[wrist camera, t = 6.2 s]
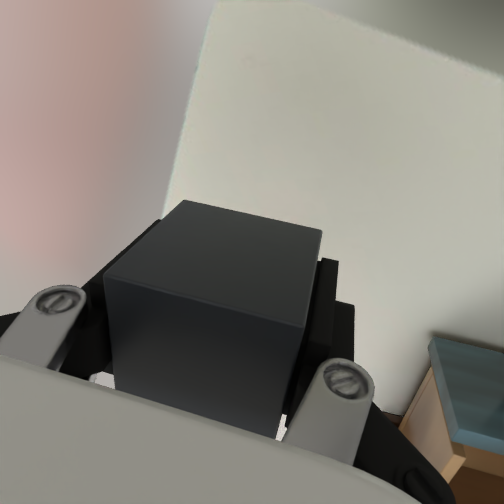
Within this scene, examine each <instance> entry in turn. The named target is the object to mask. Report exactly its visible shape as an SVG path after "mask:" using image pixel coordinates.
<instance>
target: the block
mask: <svg viewBox="0 0 504 504" xmlns="http://www.w3.org/2000/svg"><path fill="white" fill-rule="evenodd" d="M321 238H322V230H319V229H315V228H310V227H306V226H301V225H297V224H292V223H288V222H283V221H279V220H274V219H270V218H265V217H260V216H256V215H251V214H247V213H242V212H238V211H233V210H229V209H224V208H220V207H215V206H211V205H206V204H202V203H197V202H193V201H188V200H183V201H182V202H181V203H179V204H178V205H177V206H176V207H175V208H174V209H173V210H172V211H171V212H170V213H169V214H168V215H166V216H165V217H164V218H163V219H162V220H161V221H160V222H159V223H158V224H157V225H156V226H155V227H153V228H152V229H151V230H150V231H149V232H148V233H147V234H146V235H145V236H144V237H143V238H142V239H141V240H139V241H138V242H137V243H136V244H135V245H134V246H133V247H132V248H131V249H130V250H129V251H128V252H126V253H125V254H124V255H123V256H122V257H121V258H120V259H119V260H118V261H117V262H116V263H115V264H113V265H112V266H111V267H110V268H109V269H108V270H107V271H106V272H105V273H104V275H103V281H104V290H105V299H106V309H107V318H108V327H109V336H110V345H111V355H112V364H113V373H114V382H115V390H119V391H122V392H125V393H128V394H132V395H135V396H138V397H141V398H144V399H148V400H151V401H154V402H157V403H161V404H164V405H167V406H170V407H173V408H177V409H180V410H183V411H186V412H189V413H193V414H196V415H199V416H202V417H205V418H208V419H212V420H215V421H218V422H221V423H224V424H227V425H231V426H234V427H237V428H240V429H243V430H246V431H250V432H253V433H256V434H259V435H262V436H265V437H269V438H272V439H275V438H276V435H277V431H278V427H279V423H280V420H281V416H282V412H283V408H284V405H285V401H286V397H287V393H288V390H289V386H290V382H291V378H292V375H293V371H294V367H295V363H296V360H297V356H298V352H299V348H300V345H301V341H302V337H303V333H304V330H305V325H306V320H307V314H308V309H309V303H310V298H311V292H312V287H313V282H314V276H315V271H316V265H317V260H318V254H319V249H320V243H321Z"/></svg>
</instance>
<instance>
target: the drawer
mask: <svg viewBox="0 0 504 504" xmlns="http://www.w3.org/2000/svg"><path fill="white" fill-rule="evenodd" d="M428 351H429V355H430V359H431V363H432V365H431V367H430V369H429V371H428V372H427V374H426V376H425V378H424V380H423V382H422V384H421V386H420V388H419V390H418V391H417V393H416V395H415V397H414V399H413V401H412V403H411V405H410V407H409V408H408V410H407V412H406V414H405V416H404V418H403V420H402V422H401V424H400V426H399V427H398V429H399V430H400V431H401V432H402V433H403V435H404V436H405V437H406V438H407V439H408V440H409V441H410V442H411V443H412V444H413V445H414V446H415V447H416V448H417V449H418V451H419V452H420V453H421V454H422V455H423V456H424V457H425V458H426V459H427V460H428V461H429V462H430V463H431V464H432V465H433V467H434V468H435V469H436V470H437V471H438V472H439V473H440V474H441V475H442V476H443V478H444V479H445V480H446V482H447V483H448V484H449V486H450V488H451V490H452V492H453V494H454V496H455V500H456V504H504V353H500V352H496V351H492V350H488V349H484V348H480V347H476V346H472V345H468V344H464V343H460V342H455V341H451V340H447V339H443V338H439V337H435V336H433V338H432V340H431V342H430V344H429V346H428Z"/></svg>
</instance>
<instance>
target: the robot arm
mask: <svg viewBox="0 0 504 504" xmlns="http://www.w3.org/2000/svg"><path fill="white" fill-rule="evenodd" d="M160 221H161V220H160V219H158V220H156V221H155V222H154V223H153V224H152V225H151V226H150V227H148V228H147V229H146V230H145V231H144V232H143V233H142V234H141V235H140V236H138V237H137V238H136V239H135V240H134V241H133V242H132V243H131V244H130V245H129V246H127V247H126V248H125V249H124V250H123V251H121V252H120V253H119V254H118V255H117V256H116V257H115V258H114V259H113V260H111V261H110V262H109V263H108V264H107V265H106V266H105V267H104V268H102V269H101V270H100V271H99V272H98V273H97V274H96V275H95V276H94V277H92V278H91V279H90V280H89V281H88V282H87V283H86V284H85V285H84V286H82V287H81V288H79V287H76V286H72V285H57V286H52V287H49V288H47V289H44V290H42V291H40V292H39V293H37V294H36V295H35V296H34V297H33V298H32V299H31V300H30V301H29V302H28V304H27V305H26V306H25V308H24V309H23V310H22V311H21V312H17V313H13V314H7V315H3V316H0V504H456V500H455V496H454V494H453V492H452V490H451V488H450V486H449V484H448V483H447V482H446V480H445V479H444V478H443V476H442V475H441V474H440V473H439V472H438V471H437V470H436V469H435V468H434V467H433V465H432V464H431V463H430V462H429V461H428V460H427V459H426V458H425V457H424V456H423V455H422V454H421V453H420V452H419V451H418V449H417V448H416V447H415V446H414V445H413V444H412V443H411V442H410V441H409V440H408V439H407V438H406V437H405V436H404V435H403V433H402V432H401V431H400V430H399V429H398V428H397V427H396V426H395V425H394V424H393V423H392V422H391V421H390V420H389V419H388V417H387V416H386V415H385V414H384V413H383V412H382V411H381V410H380V409H379V408H378V407H377V406H376V405H375V404H374V403H373V401H372V399H373V396H374V389H375V386H374V383H373V380H372V378H371V377H370V375H369V374H368V372H367V371H366V370H364V369H363V368H362V367H361V366H360V365H358V364H356V363H355V362H354V317H355V308H354V305H352V304H348V303H343V302H339V301H335V299H336V288H337V276H338V265H339V261H336V260H332V259H328V258H323V257H322V260H321V261H317V265H316V271H315V276H314V282H313V287H312V292H311V298H310V303H309V309H308V314H307V320H306V325H305V330H304V333H303V337H302V341H301V345H300V348H299V352H298V356H297V360H296V363H295V367H294V371H293V375H292V378H291V382H290V386H289V390H288V393H287V397H286V401H285V405H284V408H283V412H282V414H285V415H287V417H286V422H285V427H287V431H286V433H285V435H284V437H283V439H282V441H278V440H275V439H272V438H269V437H265V436H262V435H259V434H256V433H253V432H250V431H246V430H243V429H240V428H237V427H234V426H231V425H227V424H224V423H221V422H218V421H215V420H212V419H208V418H205V417H202V416H199V415H196V414H193V413H189V412H186V411H183V410H180V409H177V408H173V407H170V406H167V405H164V404H161V403H157V402H154V401H151V400H148V399H144V398H141V397H138V396H135V395H132V394H128V393H125V392H122V391H119V390H115V389H112V388H109V387H106V386H102V385H99V384H96V383H95V380H96V377H97V373H99V372H102V371H103V372H106V373H109V374H113V375H114V373H113V364H112V355H111V345H110V336H109V327H108V318H107V309H106V299H105V290H104V281H103V275H104V273H105V272H106V271H107V270H108V269H109V268H110V267H111V266H112V265H113V264H115V263H116V262H117V261H118V260H119V259H120V258H121V257H122V256H123V255H124V254H125V253H126V252H128V251H129V250H130V249H131V248H132V247H133V246H134V245H135V244H136V243H137V242H138V241H139V240H141V239H142V238H143V237H144V236H145V235H146V234H147V233H148V232H149V231H150V230H151V229H152V228H153V227H155V226H156V225H157V224H158V223H159V222H160Z"/></svg>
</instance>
